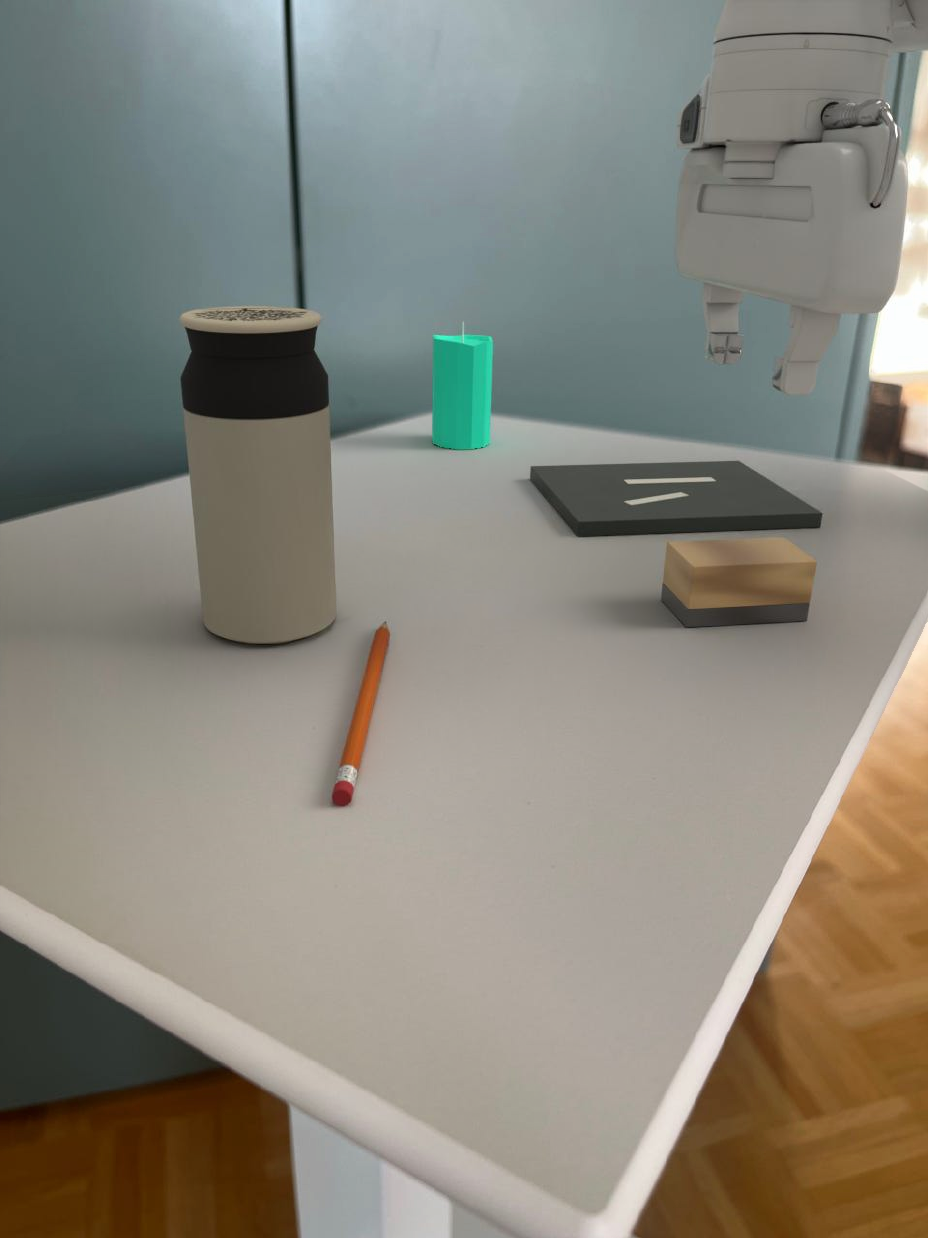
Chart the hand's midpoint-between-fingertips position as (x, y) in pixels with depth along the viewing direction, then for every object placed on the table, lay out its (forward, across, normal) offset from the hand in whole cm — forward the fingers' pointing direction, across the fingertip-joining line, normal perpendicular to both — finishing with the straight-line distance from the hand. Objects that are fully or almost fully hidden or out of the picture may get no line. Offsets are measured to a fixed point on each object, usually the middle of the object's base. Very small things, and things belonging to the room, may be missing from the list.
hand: (754, 376), depth 58 cm
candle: (+15, +45, +9) cm, 48 cm away
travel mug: (+15, +2, +28) cm, 32 cm away
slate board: (+15, +23, -5) cm, 28 cm away
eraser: (+15, 0, -1) cm, 15 cm away
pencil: (+15, -9, +23) cm, 29 cm away
